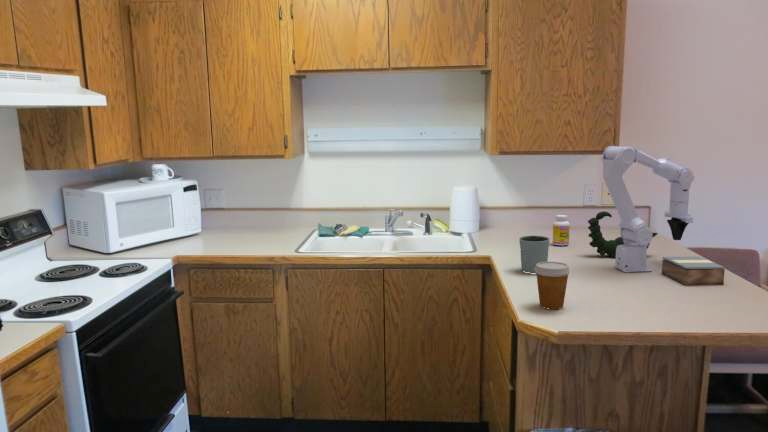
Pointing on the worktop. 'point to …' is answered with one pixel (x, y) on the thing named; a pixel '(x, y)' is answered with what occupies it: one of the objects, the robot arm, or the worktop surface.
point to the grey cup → (533, 251)
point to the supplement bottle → (561, 230)
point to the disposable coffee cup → (552, 283)
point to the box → (693, 275)
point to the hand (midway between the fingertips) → (676, 239)
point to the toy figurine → (599, 241)
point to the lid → (693, 263)
